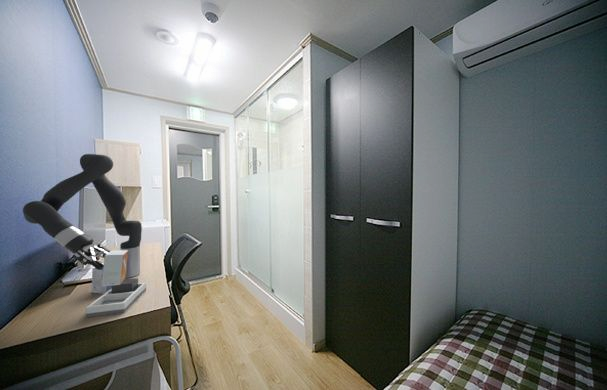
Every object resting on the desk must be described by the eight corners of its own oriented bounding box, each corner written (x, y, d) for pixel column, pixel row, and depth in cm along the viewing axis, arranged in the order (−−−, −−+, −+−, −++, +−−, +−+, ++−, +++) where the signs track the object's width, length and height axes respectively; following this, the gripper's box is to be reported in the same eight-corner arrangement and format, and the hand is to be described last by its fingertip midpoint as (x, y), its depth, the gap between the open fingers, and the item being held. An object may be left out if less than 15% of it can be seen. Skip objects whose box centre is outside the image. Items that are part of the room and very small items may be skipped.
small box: (120, 285, 90) (123, 254, 91) (100, 286, 88) (104, 255, 88) (125, 278, 98) (128, 249, 98) (107, 279, 95) (110, 250, 95)
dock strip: (115, 293, 106) (115, 278, 105) (146, 290, 109) (146, 275, 109) (85, 317, 85) (85, 298, 85) (124, 312, 89) (124, 294, 89)
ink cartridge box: (118, 289, 110) (118, 261, 110) (106, 294, 104) (106, 265, 104) (103, 287, 112) (103, 260, 112) (91, 292, 106) (91, 264, 106)
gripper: (69, 236, 82) (105, 263, 86) (93, 230, 96) (124, 253, 99) (51, 251, 81) (89, 277, 84) (79, 242, 95) (110, 265, 98)
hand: (108, 264), depth 92 cm, fingers closed on small box, 8 cm apart
